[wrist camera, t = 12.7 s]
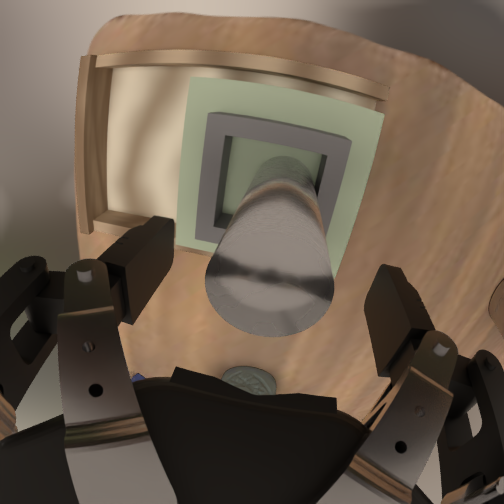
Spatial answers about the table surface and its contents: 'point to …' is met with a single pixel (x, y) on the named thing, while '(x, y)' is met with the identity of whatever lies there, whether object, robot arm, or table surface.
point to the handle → (273, 255)
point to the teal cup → (251, 380)
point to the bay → (165, 124)
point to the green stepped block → (270, 155)
